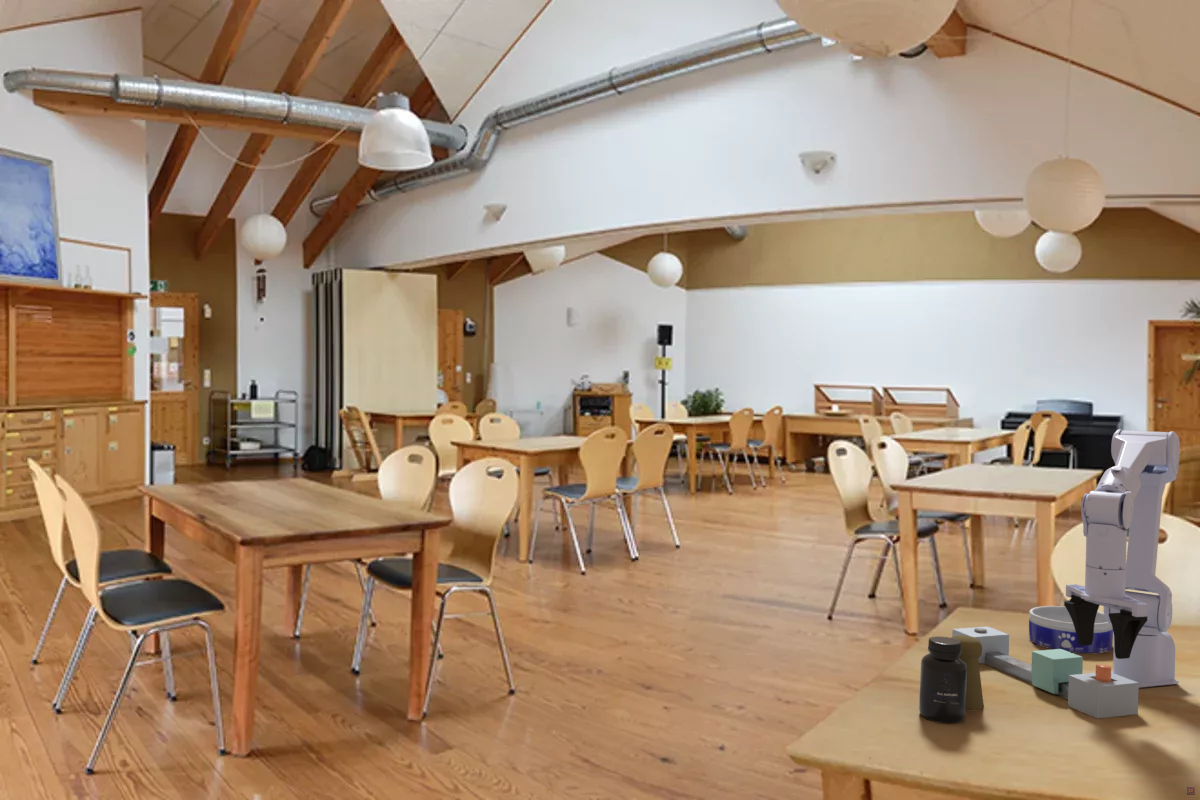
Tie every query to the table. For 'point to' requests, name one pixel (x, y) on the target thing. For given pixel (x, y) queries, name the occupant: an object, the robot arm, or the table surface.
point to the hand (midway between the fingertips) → (1103, 651)
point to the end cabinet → (1103, 695)
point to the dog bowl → (1066, 630)
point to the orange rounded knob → (1103, 673)
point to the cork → (972, 671)
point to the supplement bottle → (943, 681)
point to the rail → (1018, 669)
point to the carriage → (1054, 668)
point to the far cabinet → (987, 640)
